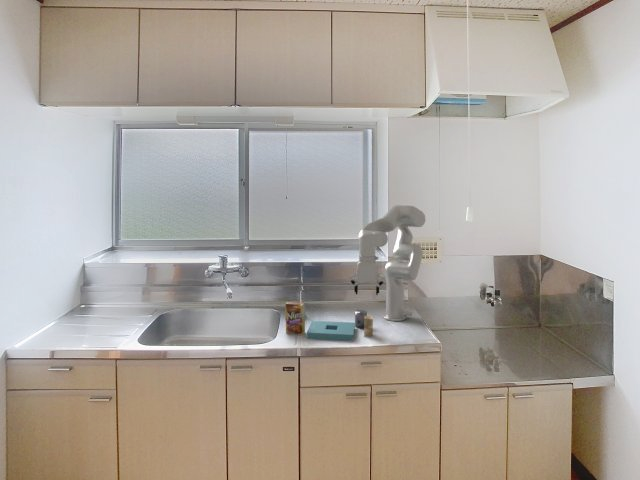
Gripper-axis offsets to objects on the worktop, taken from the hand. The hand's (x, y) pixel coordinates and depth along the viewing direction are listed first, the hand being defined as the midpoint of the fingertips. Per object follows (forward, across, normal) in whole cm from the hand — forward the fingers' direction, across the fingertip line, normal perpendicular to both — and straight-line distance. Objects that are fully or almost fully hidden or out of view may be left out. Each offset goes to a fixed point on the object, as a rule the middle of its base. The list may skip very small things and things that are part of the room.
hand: (366, 294), depth 182 cm
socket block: (+20, +17, +1) cm, 27 cm away
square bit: (+21, -1, 0) cm, 21 cm away
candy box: (+21, +35, +3) cm, 40 cm away
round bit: (+21, +3, -11) cm, 24 cm away
